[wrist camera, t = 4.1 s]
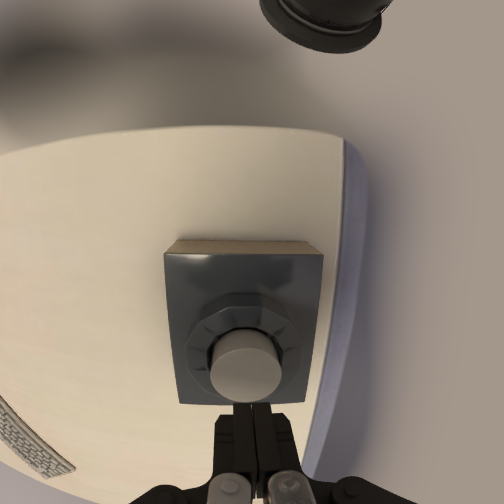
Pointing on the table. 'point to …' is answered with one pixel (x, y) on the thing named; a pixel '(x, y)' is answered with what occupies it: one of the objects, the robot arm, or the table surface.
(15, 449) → the keyboard
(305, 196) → the table surface
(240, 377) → the grey cylindrical knob
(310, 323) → the push button box
